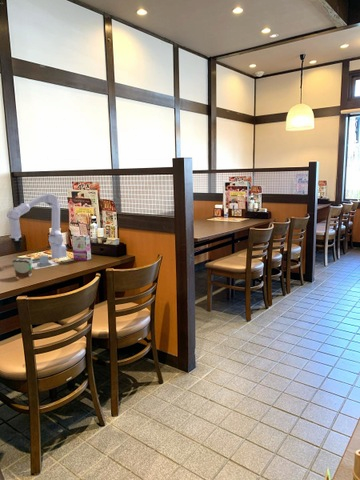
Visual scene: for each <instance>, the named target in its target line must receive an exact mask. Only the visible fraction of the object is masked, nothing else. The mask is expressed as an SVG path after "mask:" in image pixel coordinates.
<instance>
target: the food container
mask: <svg viewBox="0 0 360 480" xmlns="http://www.w3.org/2000/svg"><path fill="white" fill-rule="evenodd" d="M32 259H33V258H32V257H27V256H26V257H17V258H12V264H13V269H14V274H15V276H16V277H28V278H31V277H32V274H33V273H32V271H33V270H32V269H33V268H32V263H33V261H32Z"/></svg>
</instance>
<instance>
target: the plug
mask: <svg viewBox="0 0 360 480" xmlns="http://www.w3.org/2000/svg"><path fill="white" fill-rule="evenodd" d="M38 258H39V259H40V265H45V264H49V261H48V260H49V256H48V255H47V254H41V255H39V256H38Z"/></svg>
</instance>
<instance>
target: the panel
mask: <svg viewBox="0 0 360 480" xmlns="http://www.w3.org/2000/svg"><path fill="white" fill-rule="evenodd" d="M31 259H32V261H33V263H32V269H34V270H39V269H43V268H44V269H45V268H48V267H53V266H59V264H60V263H57V262H54V261H53V260H50V259H48V261H49V264H45V265H40V259H39V257H37V258H31Z"/></svg>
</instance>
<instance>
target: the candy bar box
mask: <svg viewBox="0 0 360 480" xmlns="http://www.w3.org/2000/svg"><path fill="white" fill-rule="evenodd" d="M90 238H91V237H90V235H89V234H73V235H72V236H71V241H72V242H71V243H72V252H73V253H72V254H73V260H75V261H90V260H92V249H91V239H90Z"/></svg>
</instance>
